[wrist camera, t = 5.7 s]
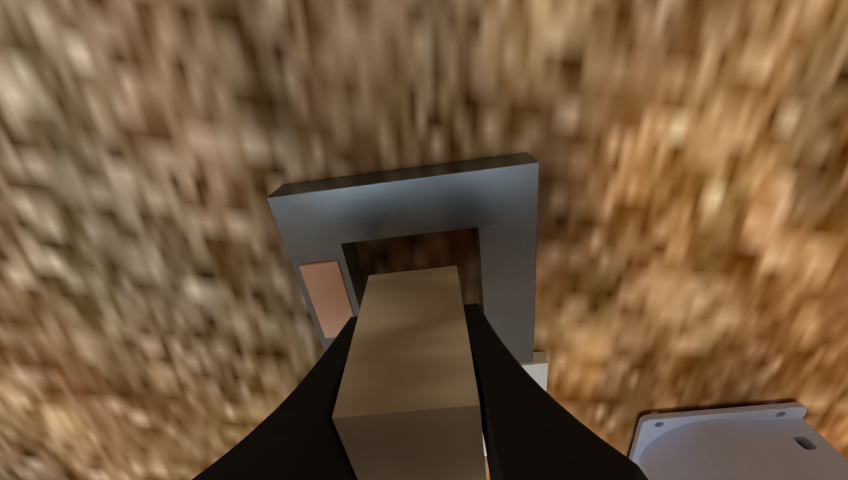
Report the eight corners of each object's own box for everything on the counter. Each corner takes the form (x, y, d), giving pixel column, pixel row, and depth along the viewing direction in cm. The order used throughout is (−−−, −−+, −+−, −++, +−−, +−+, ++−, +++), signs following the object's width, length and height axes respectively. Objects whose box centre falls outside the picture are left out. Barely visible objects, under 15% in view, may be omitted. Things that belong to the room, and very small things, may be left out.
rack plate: (527, 152, 13) (539, 163, 12) (524, 339, 18) (533, 363, 16) (282, 185, 14) (265, 199, 12) (341, 357, 18) (335, 382, 17)
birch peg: (456, 265, 13) (480, 404, 8) (463, 332, 15) (486, 485, 9) (368, 275, 13) (331, 418, 8) (385, 340, 15) (364, 494, 9)
